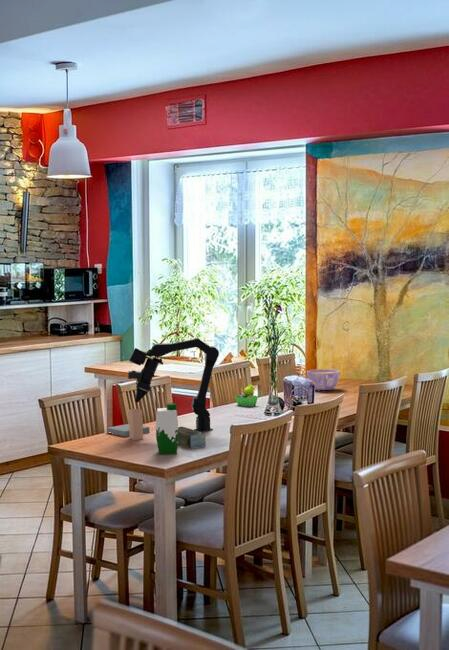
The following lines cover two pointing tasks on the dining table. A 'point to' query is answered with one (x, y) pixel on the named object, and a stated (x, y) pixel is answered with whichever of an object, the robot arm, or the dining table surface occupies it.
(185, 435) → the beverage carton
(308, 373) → the purple round bowl
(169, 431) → the milk carton
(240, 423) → the dining table surface
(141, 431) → the block
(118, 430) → the plate
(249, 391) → the fruit basket
